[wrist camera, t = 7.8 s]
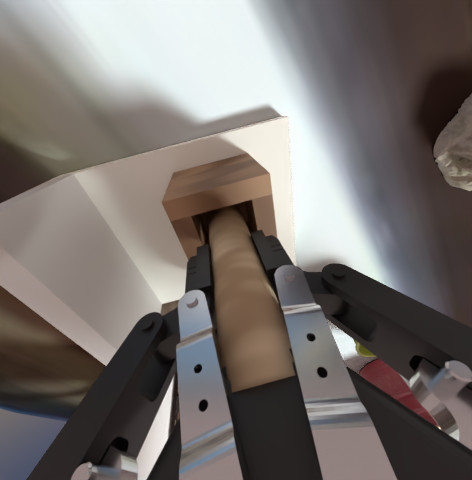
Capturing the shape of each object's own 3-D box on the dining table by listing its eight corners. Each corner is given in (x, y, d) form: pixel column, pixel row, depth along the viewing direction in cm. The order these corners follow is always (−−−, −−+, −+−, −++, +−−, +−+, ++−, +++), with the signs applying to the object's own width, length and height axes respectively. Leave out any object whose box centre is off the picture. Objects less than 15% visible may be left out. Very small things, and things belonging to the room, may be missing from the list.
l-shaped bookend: (282, 116, 18) (356, 122, 10) (292, 260, 28) (333, 327, 20) (60, 174, 18) (-66, 234, 10) (150, 299, 28) (128, 383, 20)
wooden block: (226, 282, 30) (226, 288, 27) (231, 299, 30) (231, 307, 27) (161, 299, 30) (154, 307, 27) (167, 316, 30) (160, 326, 27)
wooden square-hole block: (247, 152, 18) (269, 173, 12) (266, 264, 26) (285, 308, 20) (173, 172, 18) (161, 202, 12) (214, 278, 26) (219, 326, 20)
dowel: (238, 199, 15) (312, 364, 5) (245, 229, 17) (311, 400, 7) (203, 208, 15) (211, 392, 5) (213, 237, 17) (234, 421, 7)
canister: (352, 380, 59) (403, 470, 44) (365, 359, 52) (431, 457, 37) (393, 372, 60) (455, 456, 45) (411, 349, 53) (492, 441, 38)
